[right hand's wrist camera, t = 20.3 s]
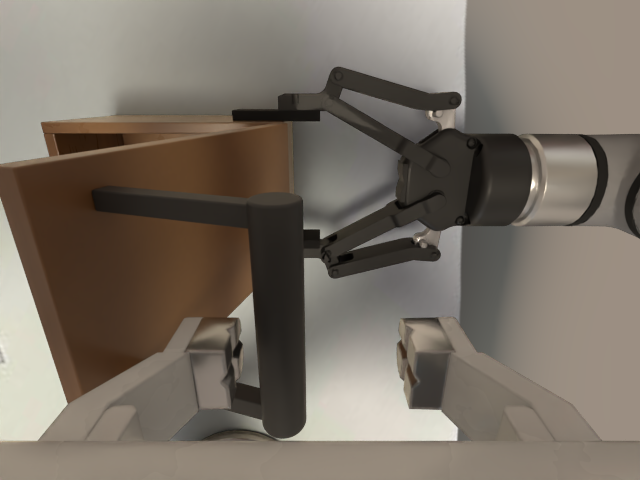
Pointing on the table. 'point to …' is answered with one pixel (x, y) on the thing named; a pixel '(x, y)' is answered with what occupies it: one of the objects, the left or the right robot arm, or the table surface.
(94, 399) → the right robot arm
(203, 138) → the lid
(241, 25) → the table surface
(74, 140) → the chest
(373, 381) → the table surface
